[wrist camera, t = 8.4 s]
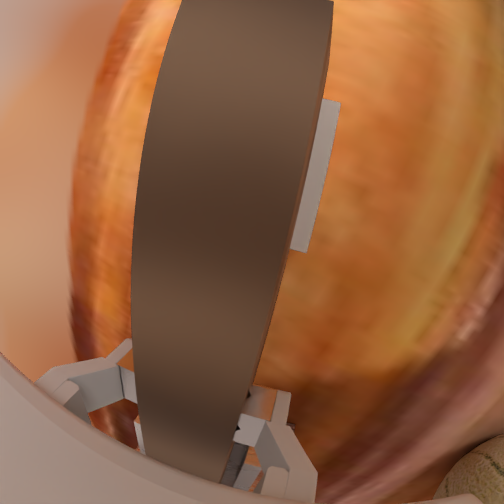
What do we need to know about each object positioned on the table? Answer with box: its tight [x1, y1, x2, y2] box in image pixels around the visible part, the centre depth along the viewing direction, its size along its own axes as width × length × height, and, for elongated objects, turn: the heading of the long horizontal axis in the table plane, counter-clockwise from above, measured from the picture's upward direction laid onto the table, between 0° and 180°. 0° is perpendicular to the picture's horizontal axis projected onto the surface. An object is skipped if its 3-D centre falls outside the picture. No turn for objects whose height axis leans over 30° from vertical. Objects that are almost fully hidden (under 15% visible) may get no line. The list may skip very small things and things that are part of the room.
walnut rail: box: [131, 0, 334, 484], centre depth 10 cm, size 24×4×4 cm, turn 169°
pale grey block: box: [290, 98, 341, 253], centre depth 12 cm, size 6×5×4 cm
